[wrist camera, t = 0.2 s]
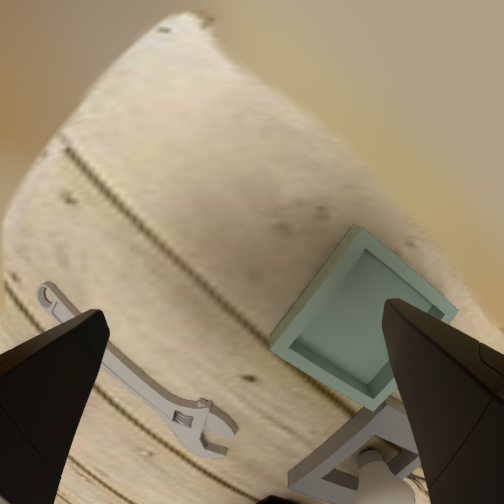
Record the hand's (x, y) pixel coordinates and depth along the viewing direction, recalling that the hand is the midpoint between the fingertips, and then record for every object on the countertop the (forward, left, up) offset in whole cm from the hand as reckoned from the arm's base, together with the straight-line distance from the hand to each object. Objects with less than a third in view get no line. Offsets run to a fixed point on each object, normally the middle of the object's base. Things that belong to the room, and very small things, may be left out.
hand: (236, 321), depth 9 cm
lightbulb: (-11, -22, -16) cm, 29 cm away
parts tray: (0, -10, -15) cm, 18 cm away
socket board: (-11, -22, -15) cm, 29 cm away
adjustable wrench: (-16, +3, -16) cm, 23 cm away
